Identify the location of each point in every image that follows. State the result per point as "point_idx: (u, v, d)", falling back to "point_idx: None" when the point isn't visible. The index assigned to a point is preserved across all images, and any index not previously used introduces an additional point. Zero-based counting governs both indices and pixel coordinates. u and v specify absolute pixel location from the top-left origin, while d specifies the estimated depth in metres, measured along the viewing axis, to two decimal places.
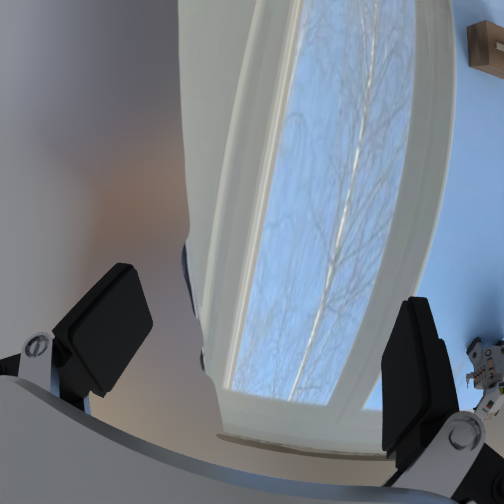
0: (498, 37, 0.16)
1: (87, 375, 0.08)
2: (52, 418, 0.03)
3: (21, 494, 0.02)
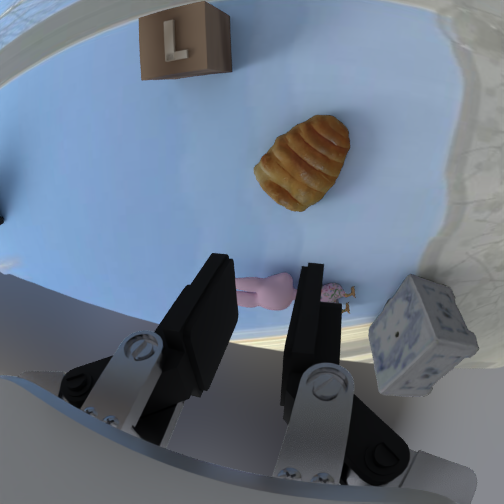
0: (184, 22, 0.17)
1: (192, 374, 0.08)
2: (52, 418, 0.03)
3: (21, 494, 0.02)
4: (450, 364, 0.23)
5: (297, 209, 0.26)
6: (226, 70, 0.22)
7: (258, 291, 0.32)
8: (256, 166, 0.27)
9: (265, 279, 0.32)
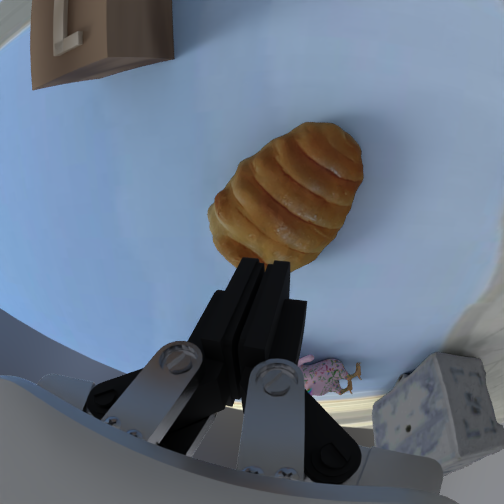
0: None
1: (227, 384, 0.08)
2: (52, 418, 0.03)
3: (21, 494, 0.02)
4: (468, 463, 0.13)
5: None
6: (160, 56, 0.13)
7: None
8: (210, 208, 0.17)
9: None
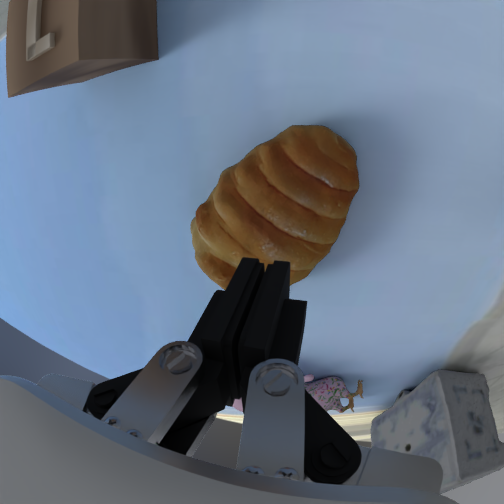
0: None
1: (227, 384, 0.08)
2: (52, 418, 0.03)
3: (21, 494, 0.02)
4: (468, 482, 0.12)
5: None
6: (142, 57, 0.11)
7: None
8: (193, 222, 0.16)
9: None
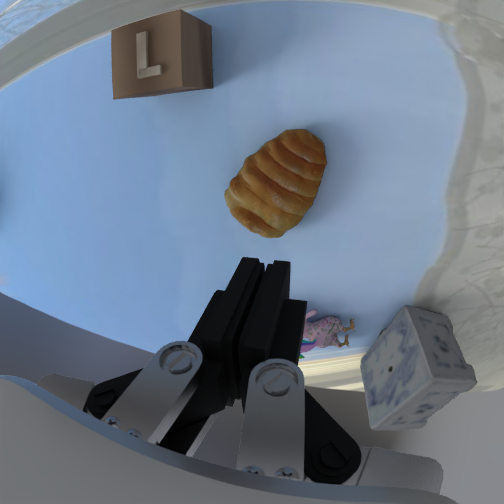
0: (158, 34, 0.15)
1: (227, 384, 0.08)
2: (52, 418, 0.03)
3: (21, 494, 0.02)
4: (446, 399, 0.20)
5: (272, 235, 0.24)
6: (206, 86, 0.21)
7: None
8: (226, 191, 0.25)
9: None
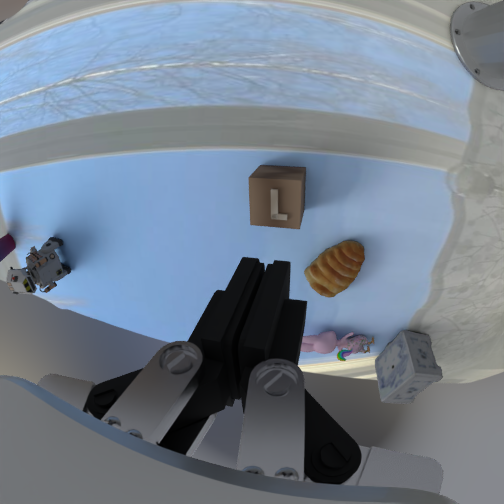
0: (286, 193, 0.33)
1: (227, 384, 0.08)
2: (52, 418, 0.03)
3: (21, 494, 0.02)
4: (424, 385, 0.39)
5: (332, 296, 0.42)
6: None
7: (315, 343, 0.48)
8: (306, 270, 0.43)
9: (319, 336, 0.48)
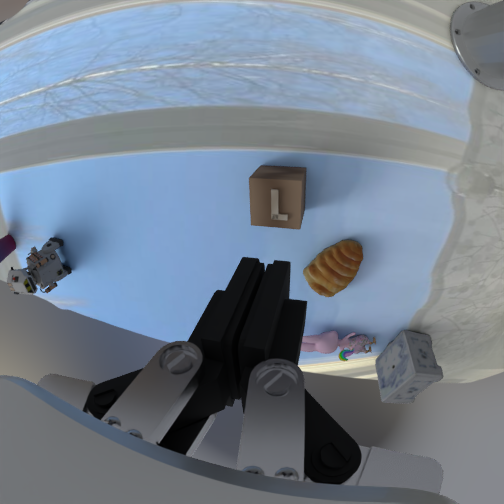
0: (286, 193, 0.33)
1: (227, 384, 0.08)
2: (52, 418, 0.03)
3: (21, 494, 0.02)
4: (425, 385, 0.39)
5: (331, 296, 0.43)
6: (303, 214, 0.38)
7: (317, 343, 0.48)
8: (305, 270, 0.43)
9: (321, 335, 0.48)
